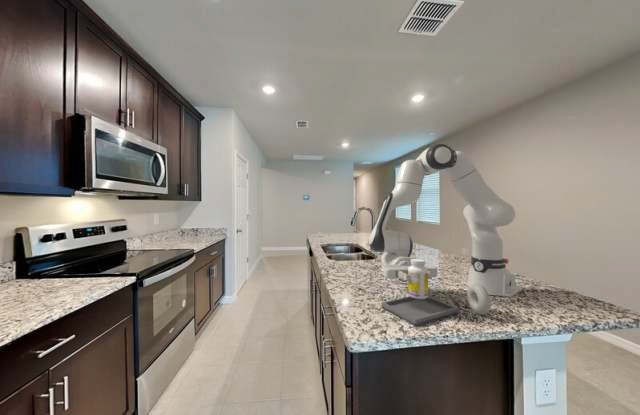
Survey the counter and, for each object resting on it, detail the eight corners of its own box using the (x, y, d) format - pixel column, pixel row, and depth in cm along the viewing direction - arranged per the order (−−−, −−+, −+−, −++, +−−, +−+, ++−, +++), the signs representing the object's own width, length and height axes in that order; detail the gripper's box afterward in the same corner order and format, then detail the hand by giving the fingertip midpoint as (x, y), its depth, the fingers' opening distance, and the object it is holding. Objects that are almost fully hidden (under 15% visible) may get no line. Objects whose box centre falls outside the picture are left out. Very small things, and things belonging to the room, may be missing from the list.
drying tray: (421, 298, 100) (421, 293, 100) (458, 313, 86) (458, 307, 86) (381, 307, 92) (381, 302, 92) (415, 326, 77) (415, 319, 77)
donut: (493, 320, 81) (492, 289, 81) (482, 320, 81) (482, 289, 81) (474, 307, 91) (474, 280, 91) (465, 307, 91) (464, 280, 91)
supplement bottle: (423, 293, 92) (423, 258, 92) (431, 299, 85) (431, 262, 85) (405, 293, 92) (405, 258, 92) (411, 299, 86) (411, 262, 85)
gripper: (377, 260, 101) (390, 268, 87) (426, 259, 103) (446, 267, 89) (377, 276, 101) (390, 287, 87) (426, 274, 103) (446, 285, 89)
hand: (419, 277), depth 88 cm, fingers closed on supplement bottle, 7 cm apart
